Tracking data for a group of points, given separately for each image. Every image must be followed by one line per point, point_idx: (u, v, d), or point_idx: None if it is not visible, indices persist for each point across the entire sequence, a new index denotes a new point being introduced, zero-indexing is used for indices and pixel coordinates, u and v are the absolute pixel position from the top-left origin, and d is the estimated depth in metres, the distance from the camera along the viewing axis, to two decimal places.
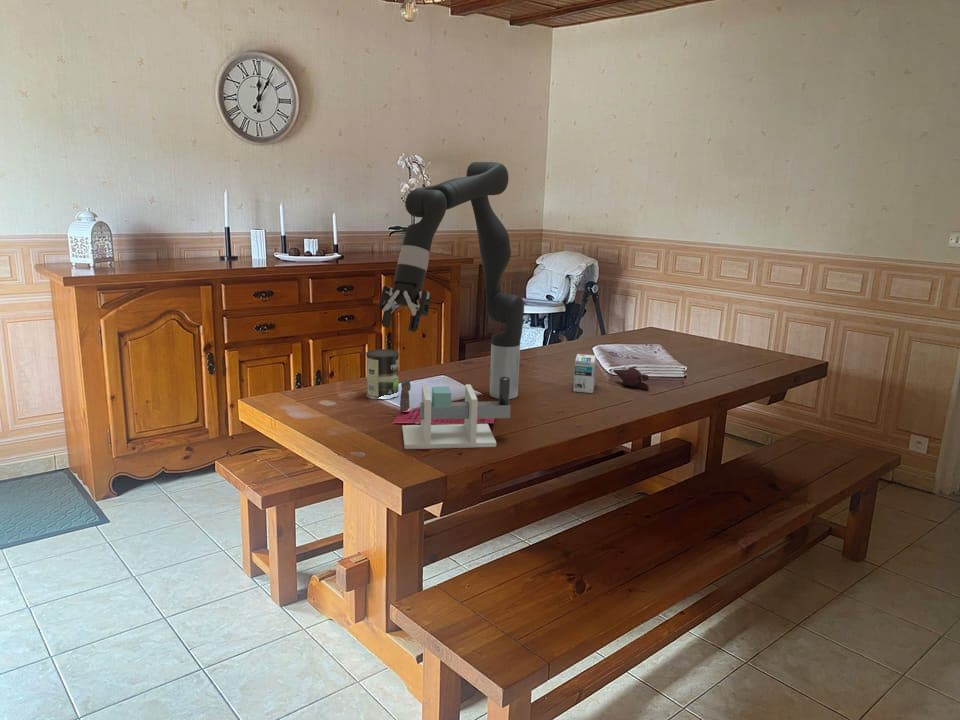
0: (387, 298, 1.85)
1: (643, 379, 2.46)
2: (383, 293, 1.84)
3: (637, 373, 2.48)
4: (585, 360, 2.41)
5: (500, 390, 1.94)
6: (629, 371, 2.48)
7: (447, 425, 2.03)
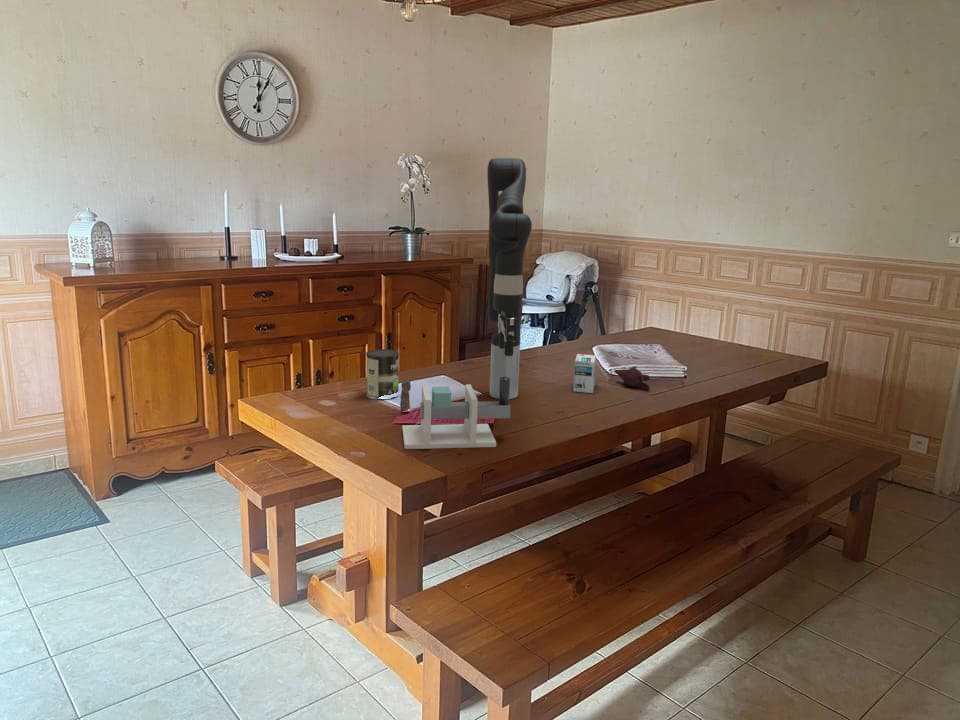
0: None
1: (644, 379, 2.45)
2: (498, 316, 1.97)
3: (638, 373, 2.47)
4: (585, 360, 2.41)
5: (500, 390, 1.94)
6: (630, 371, 2.48)
7: (447, 425, 2.03)
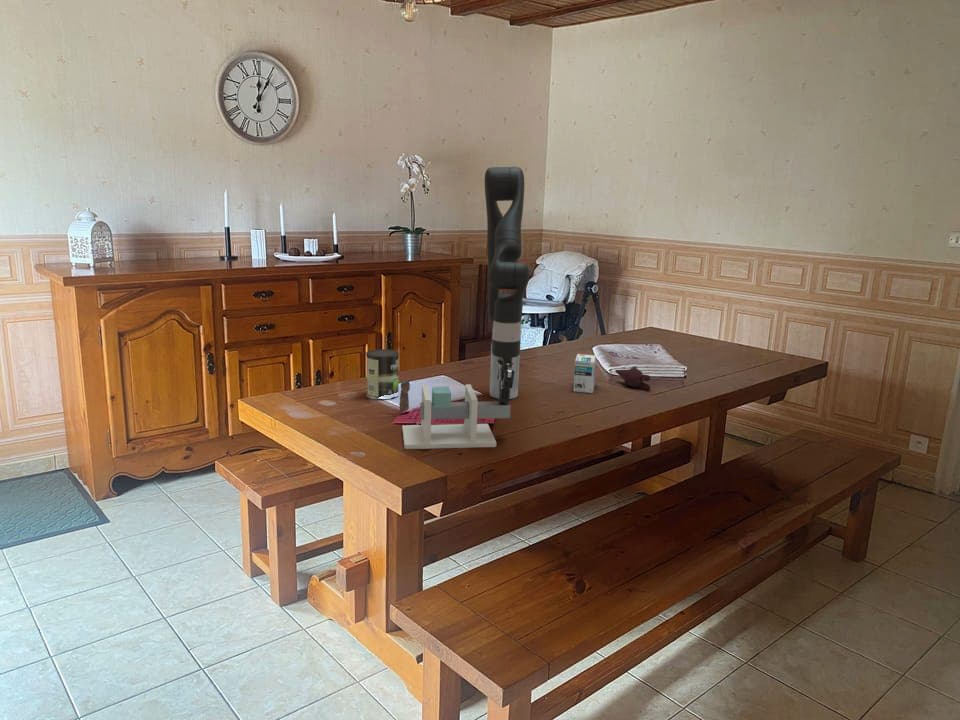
0: None
1: (645, 379, 2.45)
2: (497, 366, 1.99)
3: (639, 373, 2.47)
4: (585, 360, 2.41)
5: (500, 390, 1.94)
6: (631, 371, 2.48)
7: (447, 425, 2.03)
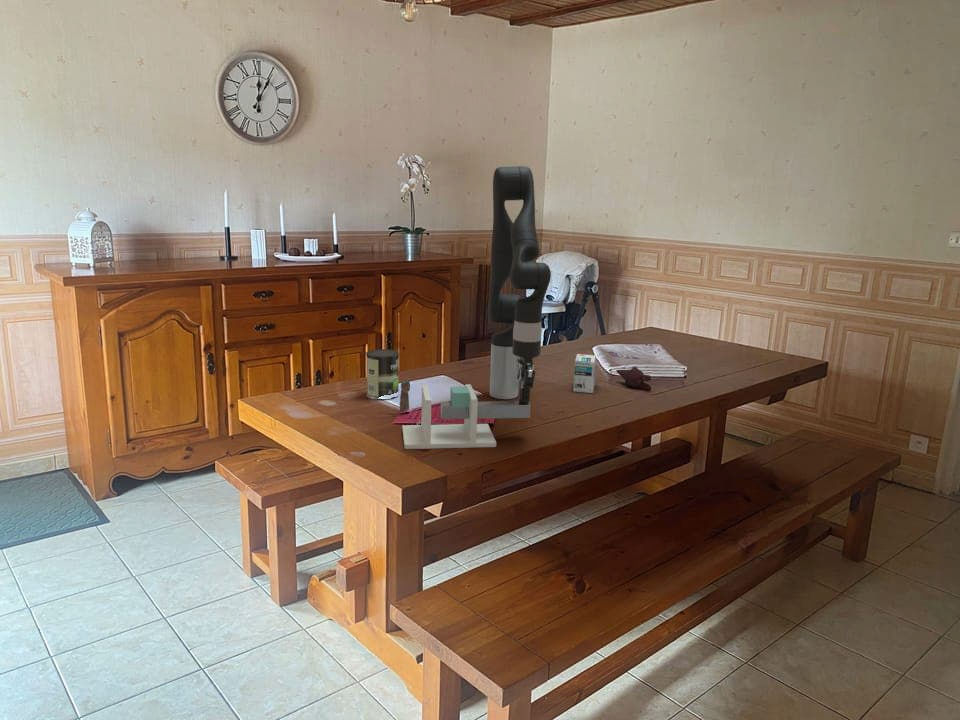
0: None
1: (645, 379, 2.45)
2: (517, 366, 2.00)
3: (640, 373, 2.47)
4: (585, 360, 2.41)
5: (520, 390, 1.95)
6: (632, 371, 2.48)
7: (447, 425, 2.03)
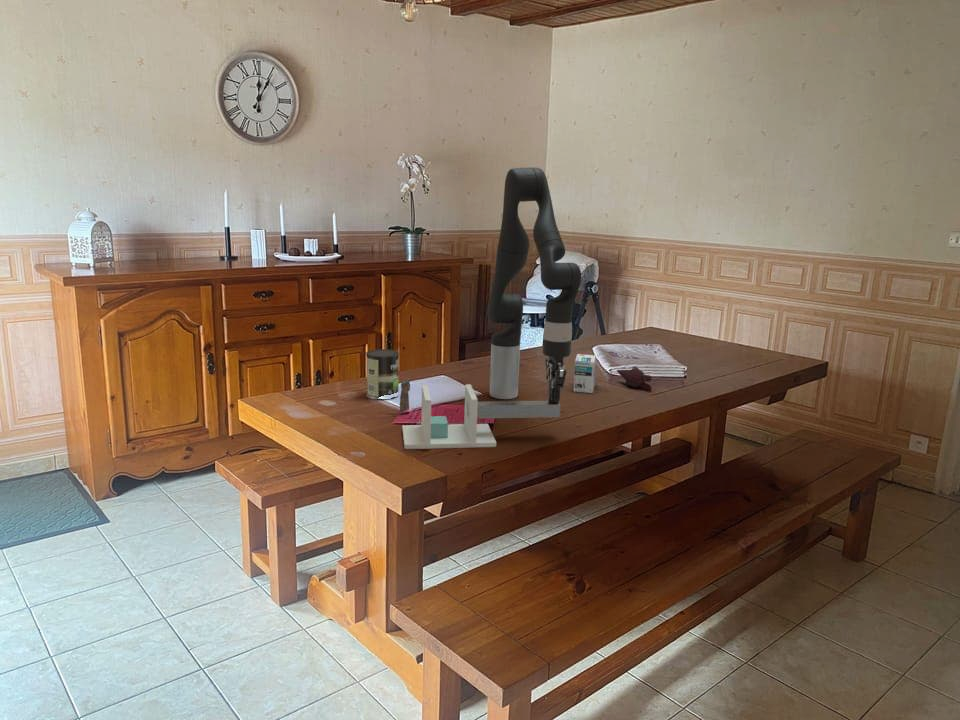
0: None
1: (646, 380, 2.45)
2: (546, 365, 2.01)
3: (640, 374, 2.47)
4: (585, 360, 2.41)
5: (550, 389, 1.96)
6: (632, 371, 2.48)
7: None
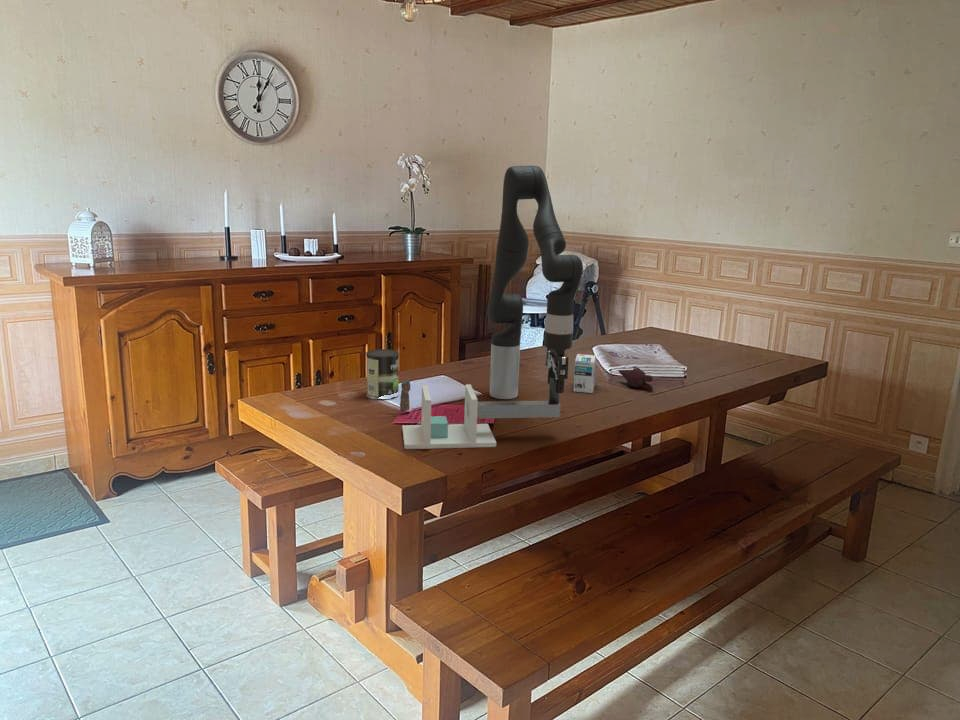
0: None
1: (647, 380, 2.45)
2: (547, 352, 2.01)
3: (641, 374, 2.47)
4: (585, 360, 2.41)
5: (550, 389, 1.96)
6: (633, 372, 2.48)
7: None
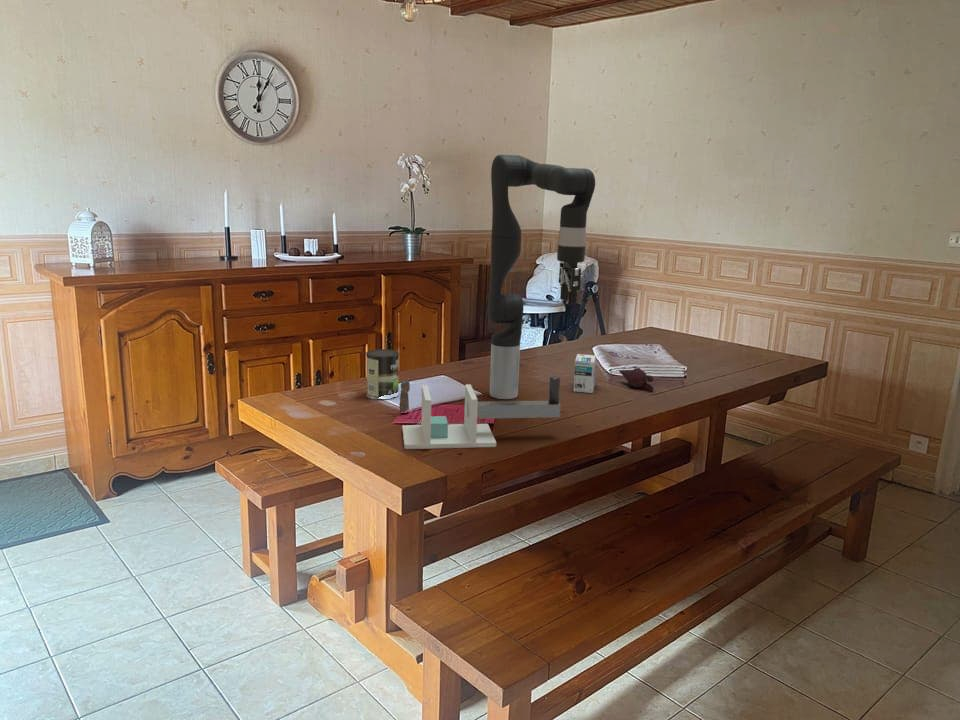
0: None
1: (648, 380, 2.45)
2: (560, 269, 2.06)
3: (642, 374, 2.47)
4: (585, 360, 2.41)
5: (550, 389, 1.96)
6: (634, 372, 2.47)
7: None
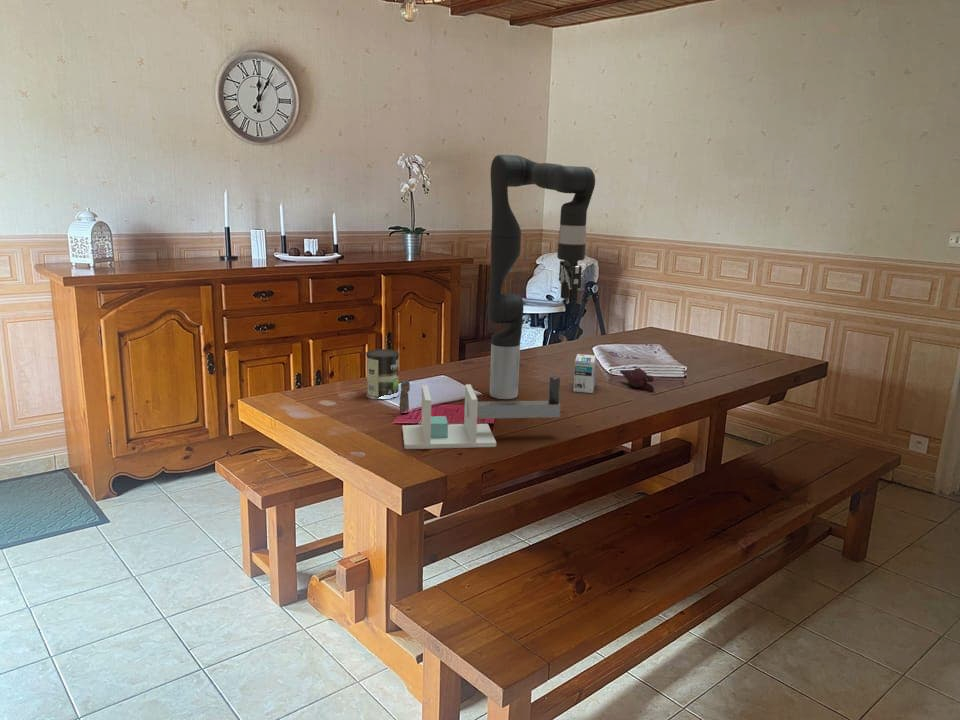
0: None
1: (648, 380, 2.44)
2: (560, 267, 2.06)
3: (643, 374, 2.47)
4: (585, 360, 2.41)
5: (550, 389, 1.96)
6: (635, 372, 2.47)
7: None
